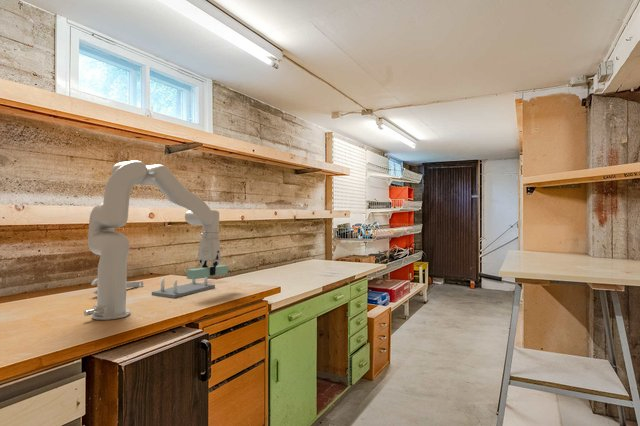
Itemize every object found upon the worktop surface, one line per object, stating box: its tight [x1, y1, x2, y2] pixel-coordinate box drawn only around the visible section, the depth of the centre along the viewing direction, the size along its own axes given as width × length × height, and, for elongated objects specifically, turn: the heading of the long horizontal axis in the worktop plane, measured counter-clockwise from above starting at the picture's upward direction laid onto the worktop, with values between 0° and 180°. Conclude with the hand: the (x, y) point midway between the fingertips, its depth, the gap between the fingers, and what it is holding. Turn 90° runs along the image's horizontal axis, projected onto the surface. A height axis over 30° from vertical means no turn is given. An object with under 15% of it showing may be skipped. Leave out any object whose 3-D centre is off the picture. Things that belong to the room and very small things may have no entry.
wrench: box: [90, 277, 144, 295], centre depth 182 cm, size 8×2×30 cm
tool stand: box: [151, 277, 216, 299], centre depth 186 cm, size 28×14×8 cm, turn 156°
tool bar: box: [186, 264, 229, 280], centre depth 177 cm, size 24×4×4 cm, turn 156°
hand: (208, 274), depth 177 cm, fingers closed on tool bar, 4 cm apart
